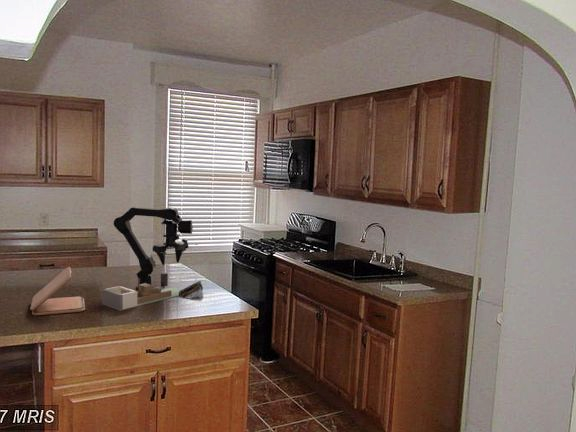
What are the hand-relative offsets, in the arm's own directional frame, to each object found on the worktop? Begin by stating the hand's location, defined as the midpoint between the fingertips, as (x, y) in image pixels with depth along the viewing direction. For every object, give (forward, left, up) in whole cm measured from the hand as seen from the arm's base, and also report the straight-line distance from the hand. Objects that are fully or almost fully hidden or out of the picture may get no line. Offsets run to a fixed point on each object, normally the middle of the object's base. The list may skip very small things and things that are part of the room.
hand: (170, 263), depth 248 cm
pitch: (+6, -18, -13) cm, 23 cm away
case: (-10, -53, -14) cm, 56 cm away
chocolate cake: (+18, -2, -14) cm, 23 cm away
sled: (+6, -15, -12) cm, 20 cm away
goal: (+6, -33, -13) cm, 36 cm away
